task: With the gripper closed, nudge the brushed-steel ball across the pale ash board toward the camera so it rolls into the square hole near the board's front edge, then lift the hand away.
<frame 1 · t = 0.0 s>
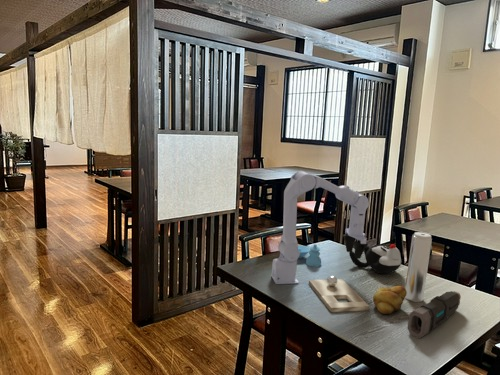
hand: (353, 254, 148), 10 cm above the table, tool pointing down, fingers open, 7 cm apart
light blue lumpy shape: (304, 260, 168), on the table
steel ball: (332, 281, 137), point 3 cm above the table, touching ash board
bread roll: (385, 308, 126), on the table
toy: (375, 270, 161), on the table
tube: (435, 322, 119), on the table
ash board: (336, 295, 133), on the table
silver cylinder: (413, 298, 135), on the table
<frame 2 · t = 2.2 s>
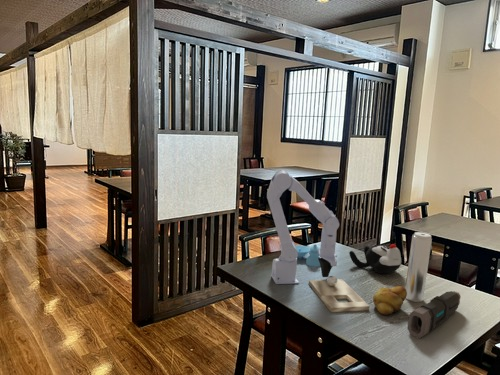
hand: (325, 276, 144), 2 cm above the table, tool pointing down, fingers closed
nothing on the table moved.
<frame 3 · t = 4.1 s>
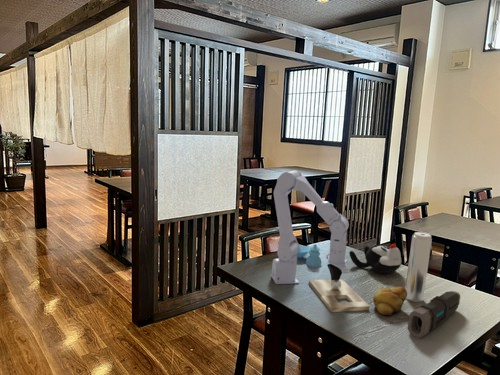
hand: (335, 283, 136), 3 cm above the table, tool pointing down, fingers closed, pressing on steel ball
steel ball: (335, 284, 135), point 3 cm above the table, tilted 82°, touching ash board, gripper
everything else where it was.
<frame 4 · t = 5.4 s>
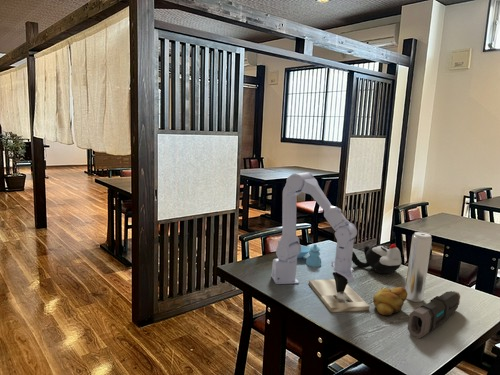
hand: (340, 292, 130), 2 cm above the table, tool pointing down, fingers closed
steel ball: (341, 297, 128), point 2 cm above the table, tilted 105°, touching gripper
everything else where it was.
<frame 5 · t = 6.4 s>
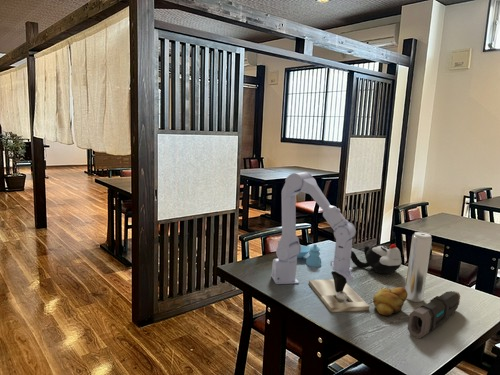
hand: (338, 291, 131), 2 cm above the table, tool pointing down, fingers closed
steel ball: (341, 296, 128), point 2 cm above the table, tilted 109°
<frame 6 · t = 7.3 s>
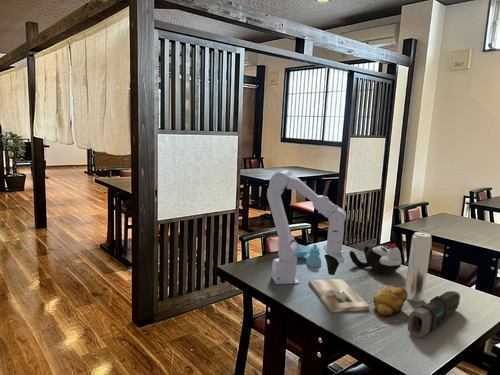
hand: (331, 274, 138), 6 cm above the table, tool pointing down, fingers closed
steel ball: (340, 296, 129), point 2 cm above the table, tilted 123°
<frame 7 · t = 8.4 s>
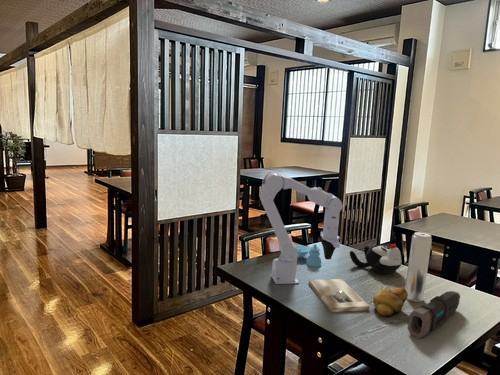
hand: (327, 258, 144), 9 cm above the table, tool pointing down, fingers closed
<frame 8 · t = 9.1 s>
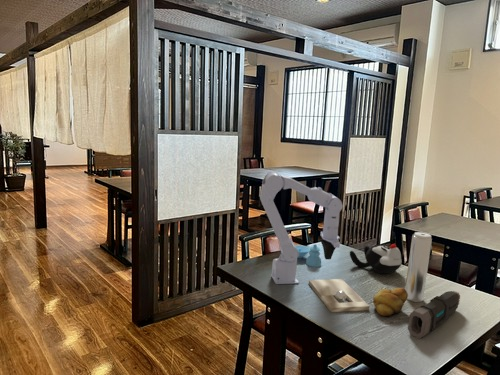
hand: (327, 258, 144), 9 cm above the table, tool pointing down, fingers closed
at the end: steel ball 0.9 cm from the target spot on the ash board, point 2.0 cm above the ash board's base; steel ball moved 9.4 cm from its start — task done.
